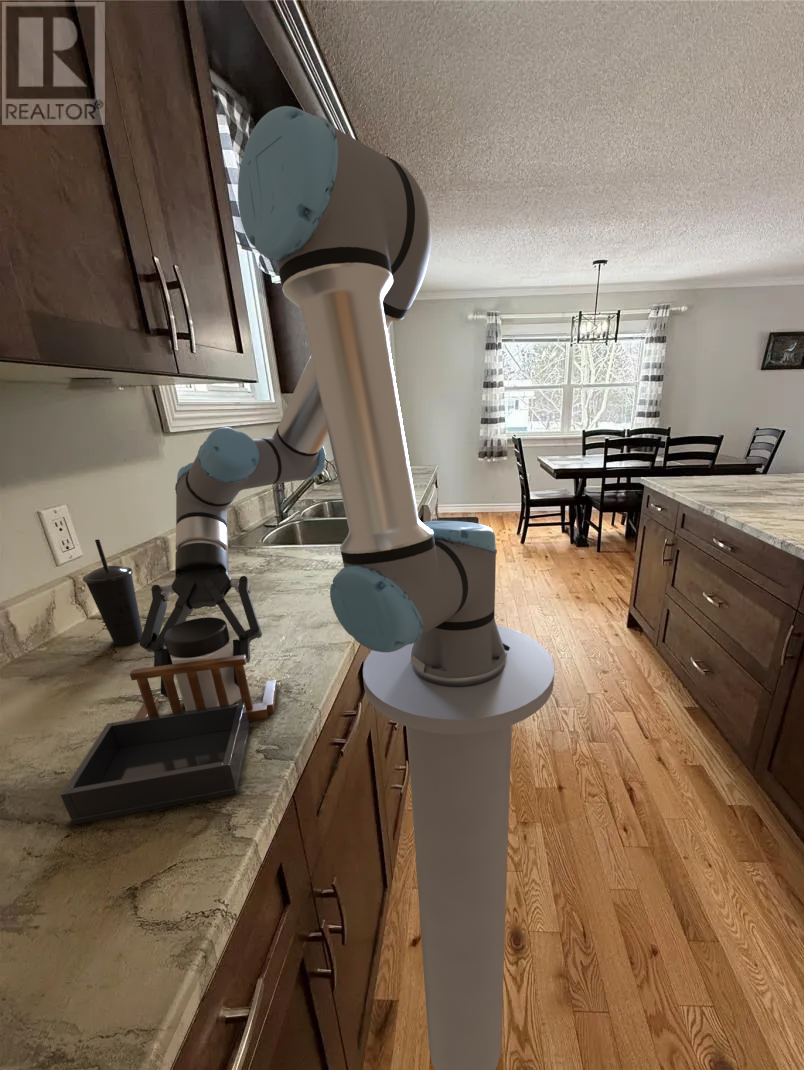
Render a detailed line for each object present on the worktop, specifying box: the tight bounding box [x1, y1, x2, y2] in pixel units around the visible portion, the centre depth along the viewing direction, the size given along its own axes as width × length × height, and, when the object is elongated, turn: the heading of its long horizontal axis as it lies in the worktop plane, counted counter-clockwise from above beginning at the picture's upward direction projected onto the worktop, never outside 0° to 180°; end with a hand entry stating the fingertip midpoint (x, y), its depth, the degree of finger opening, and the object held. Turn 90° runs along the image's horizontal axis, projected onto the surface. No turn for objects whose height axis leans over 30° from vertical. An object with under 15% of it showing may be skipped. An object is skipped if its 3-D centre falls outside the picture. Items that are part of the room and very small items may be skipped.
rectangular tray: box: [60, 702, 251, 826], centre depth 59 cm, size 17×13×4 cm
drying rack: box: [129, 655, 278, 722], centre depth 69 cm, size 18×8×10 cm, turn 104°
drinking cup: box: [82, 539, 143, 647], centre depth 89 cm, size 8×8×20 cm
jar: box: [164, 616, 242, 711], centre depth 71 cm, size 9×8×12 cm
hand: (203, 689), depth 69 cm, fingers closed on jar, 9 cm apart
